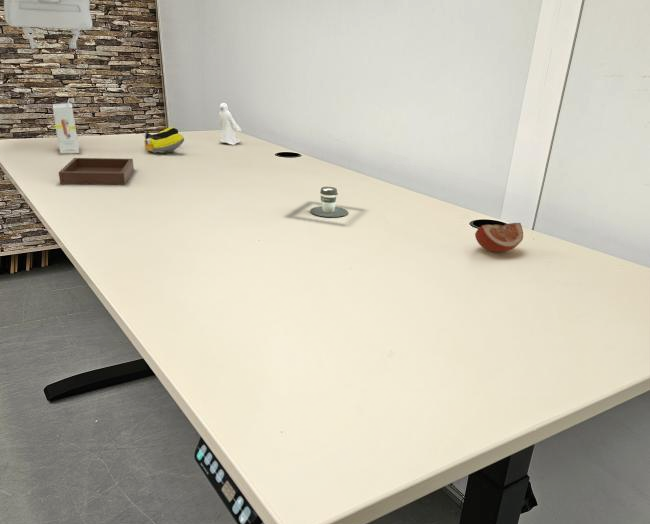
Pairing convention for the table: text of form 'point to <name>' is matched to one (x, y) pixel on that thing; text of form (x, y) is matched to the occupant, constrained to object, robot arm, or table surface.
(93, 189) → the table surface
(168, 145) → the yellow rounded piece
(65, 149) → the ink box
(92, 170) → the tray
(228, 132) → the figurine
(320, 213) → the coffee cup
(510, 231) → the fruit slice
